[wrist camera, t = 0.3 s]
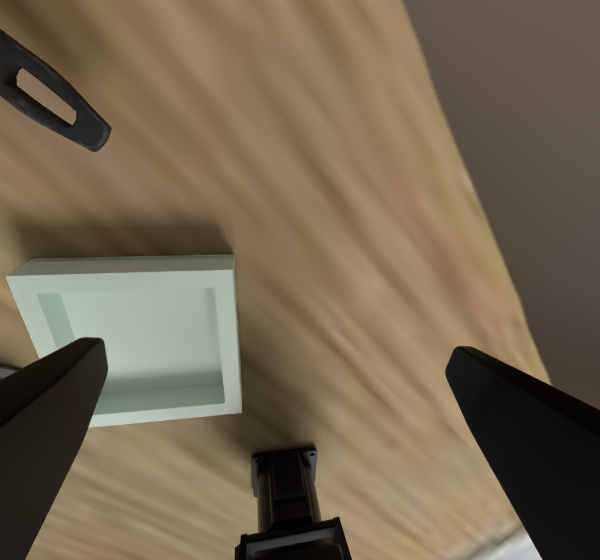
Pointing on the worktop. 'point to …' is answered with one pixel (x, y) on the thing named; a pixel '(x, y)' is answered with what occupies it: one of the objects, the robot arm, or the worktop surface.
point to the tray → (142, 329)
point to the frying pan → (89, 124)
